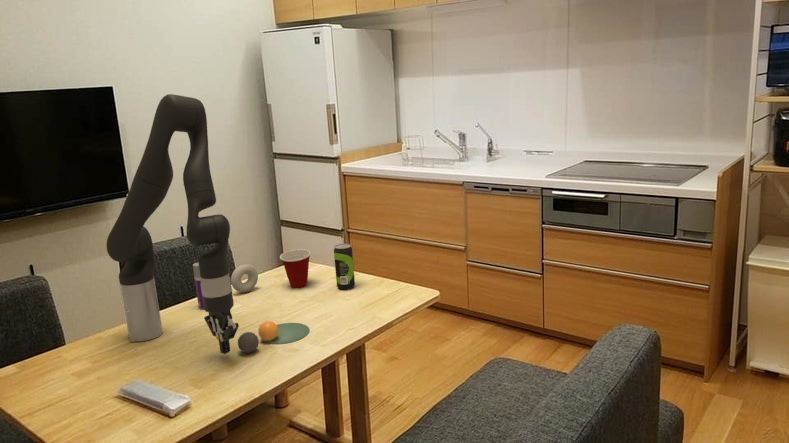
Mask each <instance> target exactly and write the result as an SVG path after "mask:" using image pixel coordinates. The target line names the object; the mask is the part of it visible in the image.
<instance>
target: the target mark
mask: <svg viewBox="0 0 789 443" xmlns="http://www.w3.org/2000/svg"><path fill="white" fill-rule="evenodd" d="M276 325H277V327H278V335H277V337H276V338H275V339H274V340H271V341H265V340H263V339H261V338H260V339H261V341H263V342H264V343H267V344H272V345H283V344H290V343H294V342H297V341H300V340H302V339H304V338H305V337H306V336H307V337H308V335H309V333H310V328H309V326H308V325H306V324H304V323H299V322H285V323H280V324H276Z"/></svg>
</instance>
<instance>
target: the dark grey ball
mask: <svg viewBox="0 0 789 443" xmlns="http://www.w3.org/2000/svg"><path fill="white" fill-rule="evenodd" d="M259 342H260V340H259V338H258V336H257V335H256V333H254V332H251V331H246V332H244V333H242V334H241V335H240V336H239V337H238V340H237V346H238V348H239V350H240V351H241V352H243V353H246V354H249V353H250V354H251V353H253V352H255V351H256V350H257V348H258V346H259V344H260V343H259Z"/></svg>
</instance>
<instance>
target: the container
mask: <svg viewBox="0 0 789 443" xmlns="http://www.w3.org/2000/svg"><path fill="white" fill-rule="evenodd" d="M192 268H193V276H194V277H193V278H194V279H193V280H194V283H195V284H194V286H195V290H196V291H195V292H196V297H197V298H196V299H197V305H198V310H201V311H205V310H204V305H203V298H202V291H201V276H200V270H199V263H198V262H195V263H193V264H192Z"/></svg>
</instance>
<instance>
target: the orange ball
mask: <svg viewBox="0 0 789 443" xmlns="http://www.w3.org/2000/svg"><path fill="white" fill-rule="evenodd" d="M277 325H278V324H276V323H275V322H274V321H270V320H269V321H268V320H267V321H264V322H262V323H261V324H260V325H259V326H258V333H257V334H258V336H259V337H260V339H263V340H265V341H271V340H274V339H275V338H276V337H277V335H278V327H277Z"/></svg>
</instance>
